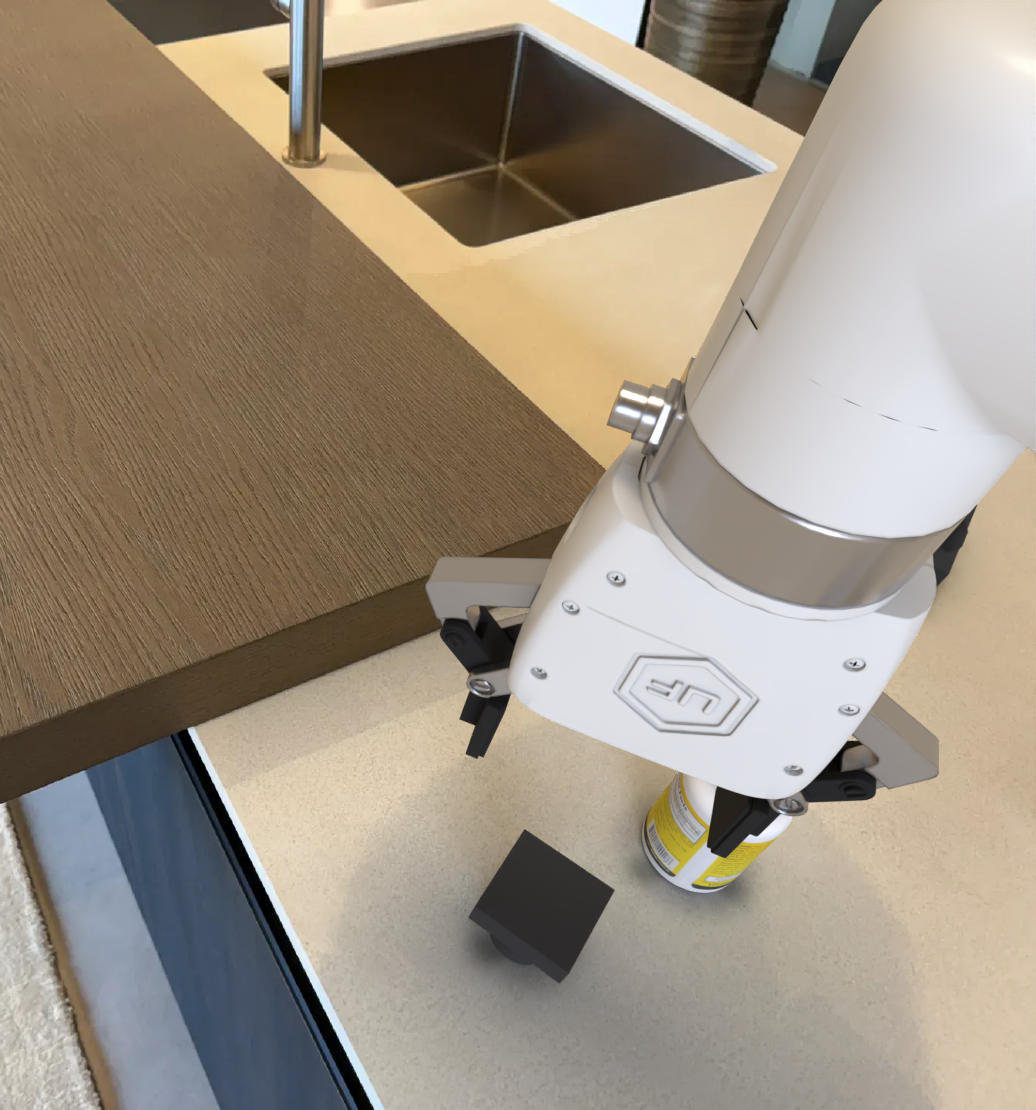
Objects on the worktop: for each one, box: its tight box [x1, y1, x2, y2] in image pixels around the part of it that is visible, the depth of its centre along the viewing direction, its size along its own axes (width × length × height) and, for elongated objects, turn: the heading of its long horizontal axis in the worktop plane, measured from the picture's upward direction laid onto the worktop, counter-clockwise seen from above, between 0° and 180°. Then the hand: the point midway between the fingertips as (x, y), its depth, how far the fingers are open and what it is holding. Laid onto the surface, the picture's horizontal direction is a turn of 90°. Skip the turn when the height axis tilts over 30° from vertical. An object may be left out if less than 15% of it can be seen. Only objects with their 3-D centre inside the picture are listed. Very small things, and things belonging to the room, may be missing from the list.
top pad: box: [468, 828, 615, 984], centre depth 51 cm, size 5×5×4 cm
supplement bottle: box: [641, 771, 794, 894], centre depth 53 cm, size 5×5×10 cm
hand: (598, 774), depth 41 cm, fingers open, 9 cm apart
